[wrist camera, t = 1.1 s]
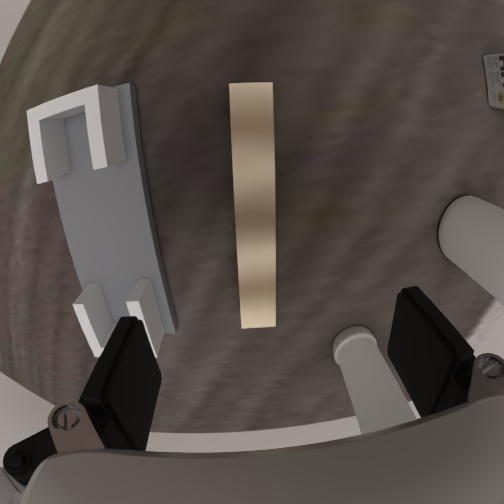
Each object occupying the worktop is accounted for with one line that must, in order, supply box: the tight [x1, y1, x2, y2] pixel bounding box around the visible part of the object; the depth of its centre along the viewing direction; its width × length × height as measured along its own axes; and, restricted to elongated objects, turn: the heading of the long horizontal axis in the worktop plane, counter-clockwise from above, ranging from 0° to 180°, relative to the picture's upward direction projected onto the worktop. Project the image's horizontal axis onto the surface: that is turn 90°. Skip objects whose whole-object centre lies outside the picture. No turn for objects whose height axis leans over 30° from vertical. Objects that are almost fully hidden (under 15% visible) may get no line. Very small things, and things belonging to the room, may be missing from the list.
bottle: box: [332, 326, 416, 434], centre depth 22 cm, size 5×5×25 cm
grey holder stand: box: [27, 83, 178, 357], centre depth 24 cm, size 24×9×6 cm, turn 5°
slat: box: [229, 82, 276, 328], centre depth 25 cm, size 20×3×4 cm, turn 2°
